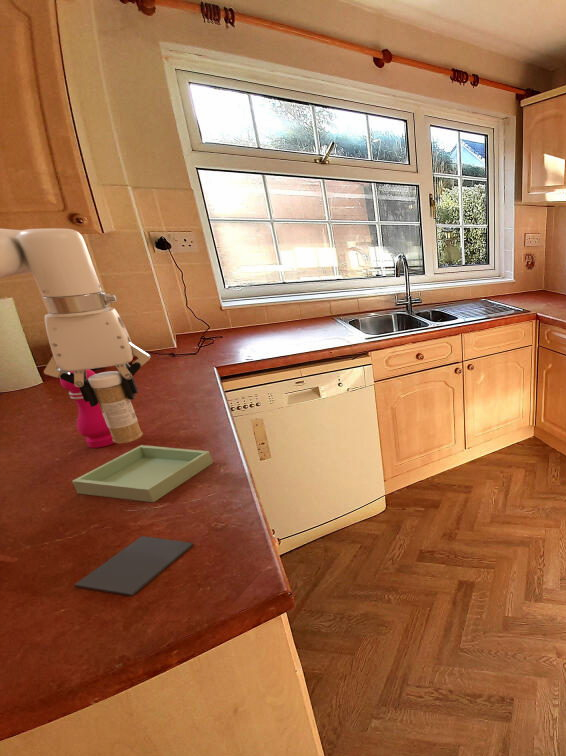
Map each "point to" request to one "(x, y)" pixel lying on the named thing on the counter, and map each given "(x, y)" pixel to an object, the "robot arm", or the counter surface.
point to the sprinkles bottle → (115, 406)
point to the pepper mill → (89, 417)
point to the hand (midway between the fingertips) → (113, 399)
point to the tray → (143, 473)
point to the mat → (134, 566)
